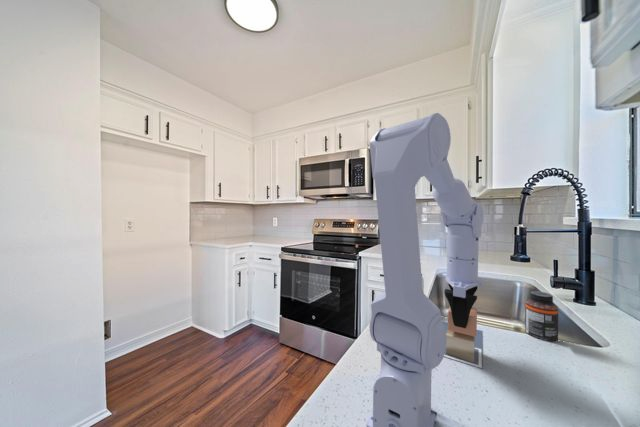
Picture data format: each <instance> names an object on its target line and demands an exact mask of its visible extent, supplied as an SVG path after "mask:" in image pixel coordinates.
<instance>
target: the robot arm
mask: <svg viewBox="0 0 640 427" xmlns="http://www.w3.org/2000/svg"><path fill="white" fill-rule="evenodd" d="M451 137H452V136H451V130H450V125H449V122H448V121H447V119H446V118H445V117H444V116H443V115H442V114H441V113H438V112H435V113H432V114H430V115H428V116H424V117H421V118H417V119H414V120H411V121H407V122H404V123H400V124H398V125H397V124H396V125H393V126H391V127H387V128H385V127H384V128H380V129H379V130H377V131H376V133H375V134H374V136H373V137H372V138H371V139H370V141H369V150H370V161H371V162H370V163H371V173H372V179H373V180H374V186H375V197H376V199H375V200H376V208H377V219H378V227H379V230H378V231H379V238H380V239H379V240H380V241H379V242H380V250H381V251H380V252H381V260H382V262H381V263H382V271H383V272H382V273H383V282H384V292H382V293H380V294H378V295H377V296H376V297H375V299H373V300H372V302H371V303H370V307H371V315H370V319H369V326H368V327H369V335H370V337H371V339H372V341H374V342H375V343H376V351H377V352H378V353H380V370H379V374H378V375H377V378H376V380H375V382H374V384H373V389H372V390H373V393H372V394H373V395H372V402H373V403H372V412H371V413H370V415H369V417H368V418H367V421H366V423H365V424H366V427H434V426H435V421H436V417H437V412H436V411H434V410H432V372H433V371H432V370H434V369H435V368H436V367H438V366H439V365H441V363H442V361H443V360H444V354H445V350H446V344H447V335H446V331H445V328H444V326H443V323H442V322H443V318H442V312H441V309H440V308H439V307H438V306H437V305H436V304H435V303H434V302H433V301H432V300H431V299H430V298H429V297H428V296H427V295H426V294H425V293H423V290H422V277H423V275H422V276H421V274H422V263H421V251H420V239H419V237H420V236H419V226H418V224H419V223H418V213H417V212H418V211H417V209H418V208H417V199H416V198H417V197H416V185H417V184H418V182H419V181H420V179H421V178H423V177H424V178H425V179H426V180H427V182H429V184H430V185H431V187H433V192H432V196H433V197H432V198H433V199H434V201H435V202H436V204H437V205H438V206H439V208H440V209H441V211H440V213H441V216H442V222H443V225H444V227H446V228H447V233H446V234H447V235H446V236H447V241H446V242H447V243H446V244H447V245H446V246H447V248H446V275H445V281H446V283H447V284H448V287H449V289H448V288H445V289H444V296H445V297H446V299H447V303H448V304H449V307H450V308H451V313H452V319H453V323H454V326H457V327H462V328H466V327H467V323H468V319H469V314H470V311H471V308H473V306H474V304H475V303H476V301H477V300H478V295H475V294H476V292H477V291H478V286H483V287H484V286H485V282H486V281H485V280H482V279H479V245H480V244H479V242H480V241H479V238H481V237H482V227H483V223H484V218H485V216H484V213H485V212H484V207H483V205H482V204H481V203H478V202H477V201H474V200H473V198H472V196H471V193H470V192H469V190H468V187H467V186H466V184H465V183H464V182H463V180H461V179H459V178H456V177H455V176H454V174H453V170H452V169H451V166H450V164H449V161H448V160H449V159H448V158H449V157H448V155H449V151H450V148H451V142H452V141H451V139H452V138H451Z"/></svg>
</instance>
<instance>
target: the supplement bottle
mask: <svg viewBox="0 0 640 427" xmlns="http://www.w3.org/2000/svg"><path fill="white" fill-rule="evenodd" d="M524 328H525V333H526V334H527V335H529V336H530V337H532V338H534V339H537V340H540V341H545V342H549V343H550V342H551V343H555V342H558V341H559V307H558V305H557V304H555V303H554V296H553V295H552V294H551V293H548V292H545V291H537V290H533V291H530V298H529V299H527V300H525V324H524Z"/></svg>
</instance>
